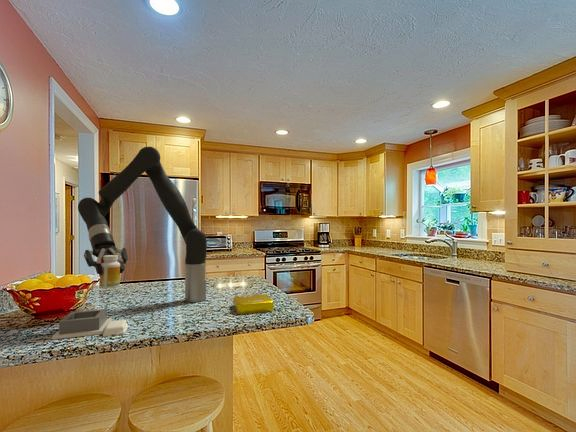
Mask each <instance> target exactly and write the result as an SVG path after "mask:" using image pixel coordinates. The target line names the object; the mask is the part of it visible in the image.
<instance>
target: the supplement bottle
mask: <svg viewBox="0 0 576 432" xmlns="http://www.w3.org/2000/svg"><path fill="white" fill-rule="evenodd" d="M118 255H119V254H118ZM118 255H106V256H103V262H102V263H100V264H101V266H102V269H103V273H102V275H99V288H100V289H114V288H118V287H120V285H121V273H120V263H119V262H117V260H118Z"/></svg>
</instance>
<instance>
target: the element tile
mask: <svg viewBox="0 0 576 432" xmlns="http://www.w3.org/2000/svg"><path fill="white" fill-rule="evenodd" d="M274 306H275V305H274V299H272V298H271V297H270V296H269V295H268V294H267V293H253V294H239V295H235V296H234V297H233V307H234V309H235V311H236V313H237V314H239V315H248V314H256V313H257V314H258V313H265V312H273V311H274V310H275V307H274Z"/></svg>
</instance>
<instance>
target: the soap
mask: <svg viewBox="0 0 576 432" xmlns="http://www.w3.org/2000/svg"><path fill="white" fill-rule="evenodd" d="M128 326H129V325H128V323H127V320H126V319H118V320H112V321H110V322H109V323H108V324H107V326H106V327H105V330H104V332H103V334H102V336H103V337H110V336H111V337H112V335H116V336H118V335H123V334H125V333H127V331H128V328H129V327H128Z"/></svg>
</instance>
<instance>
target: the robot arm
mask: <svg viewBox="0 0 576 432" xmlns="http://www.w3.org/2000/svg"><path fill="white" fill-rule="evenodd" d="M144 173H145V174H146V176H148V179H149V180H150V181H151V184H152V186H153V189H154V191H156V192H155V193H156V194H157V196H158V198H159V200H160V202H161V204H162V206H163V207H164V209H165V211H166V212H167V214H168V215H169V216H170V218H171V219H172V221H173V222H174V223H175V225H176V226H177V228H178V230H179V232H180V234H181V236H182V239H183V242H184V244H185V258H184V264H185V265H184V267H185V268H184V272H185V273H184V274H185V275H184V276H185V277H184V278H185V279H184V281H185V282H184V287H185V288H184V290H185V291H184V293H185V294H184V300H185V301H184V302H186V303H197V302H203V301H207V278H206V258H207V247H208V246H207V242H208V241H207V236H206V234H205V232H203V231H202V230H200V229H199V228H198V227H197V225H196V223H194V221H193V219H192V217H191V214H190V211H189V208H188V205H187V202H186V201H185V199H184V198H183V195H182V193H181V192H180V190H179V188H178V187H177V186H176V185H175V183H174V182H173V181H172V180H171V179H170V177H169V176H168V175H167V173H166V171H165V169H164V167H163V165H162V162H161V154H160V152H159V150H158V149H157V148H156V147H153V146H145V147H142V148H141V149H140V150H139V151H138V152H137V154H136V155H135V157H134V158H133V159H132V160H131V162H130V163H128V165H127V166H126V167H124V168H123V170H121V171H120V172H119V173H118V174H117V175H115V176H114V177H113V178H112V179H110V181H108V182H107V183H106V184H105V185H104V186H103V187H101V188H100V189H99V191H98V194H99V197H100V198H101V199H100V200H99V202H98V201H97V200H96V199H95V198H92V197H84V198H82V199H81V200H80V201H78V205H77V210H78V213H79V215H80V216H81V219H82V220H83V222H84V223H85V225H86V230H87V232H88V240H89V242H90V245H91V249H92V250H89V249H85V250H84V253H83V257H84V260H85V261H86V264H87V267H89V268H90V267H91V268H92V267H93V268H94V269H95V272H96V274H97V275H98V276H100V275H102V273H103V269H102V266H101V264H102V263H101V261H103V256H106V255H118V260H117V262H119V263H120V274H123V272H125V269H126V266H125V265H126V264H127V261H128V260H129V258H128V253H127V249H126V248H125V247H123V248H122V249H118V247H117V245H116V243H115V240H114V237H113V235H112V231H111V229H110V227H109V225H108V224H109V223H108V221H107V219H106V218H105V216H107V214H108V213H109V211H110V209H111V208H112V207H113V205H114V202H115V201H116V200H117V199H119V198H120V197H121V196H122V195H123V194H124V193H125V192H127V190H128V189H129V188H130V187H131V186H132V184H134V182H136V180H137V179H138V178H139V177H140V176H142V175H143V174H144ZM93 256H94V257H96V261H95V260H94V258H93ZM103 262H104V261H103Z"/></svg>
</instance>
